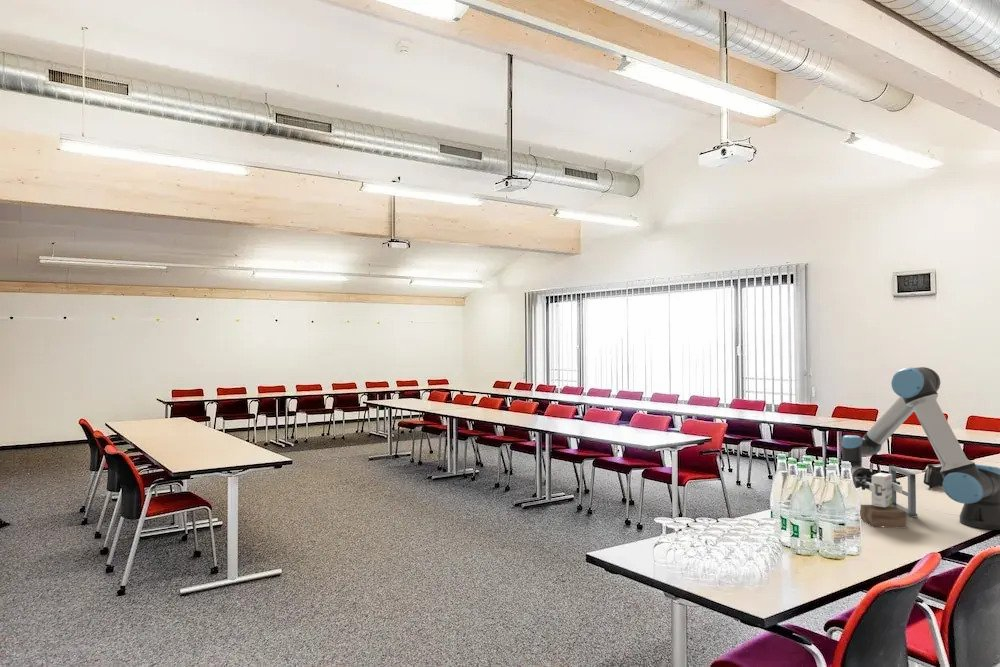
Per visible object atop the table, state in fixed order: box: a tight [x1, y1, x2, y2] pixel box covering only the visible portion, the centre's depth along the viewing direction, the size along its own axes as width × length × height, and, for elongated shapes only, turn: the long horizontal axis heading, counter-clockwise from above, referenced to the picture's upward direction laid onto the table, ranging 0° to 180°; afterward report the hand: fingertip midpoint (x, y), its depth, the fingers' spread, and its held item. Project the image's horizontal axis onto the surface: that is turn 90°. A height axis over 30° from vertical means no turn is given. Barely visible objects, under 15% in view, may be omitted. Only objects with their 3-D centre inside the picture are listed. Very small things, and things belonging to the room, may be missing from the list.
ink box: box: [871, 472, 892, 507], centre depth 248 cm, size 9×5×12 cm, turn 131°
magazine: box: [923, 464, 944, 489], centre depth 316 cm, size 17×3×30 cm
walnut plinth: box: [860, 504, 907, 528], centre depth 248 cm, size 10×12×6 cm
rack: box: [888, 465, 918, 517], centre depth 267 cm, size 18×3×17 cm, turn 173°
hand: (887, 489), depth 244 cm, fingers closed on ink box, 9 cm apart
